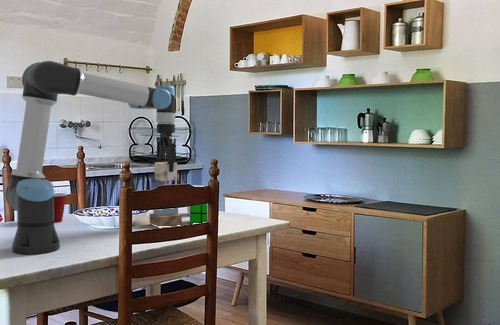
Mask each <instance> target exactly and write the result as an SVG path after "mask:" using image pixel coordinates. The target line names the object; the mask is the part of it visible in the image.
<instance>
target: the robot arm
mask: <svg viewBox="0 0 500 325" xmlns="http://www.w3.org/2000/svg"><path fill="white" fill-rule="evenodd" d="M21 83H22V86H23V88H22V89H23V90H22V99H23V100H24V102H25V108H24V116H23V121H22V122H23V123H22V128H21V129H22V130H21V133H20V134H21V136H20V142H19V148H18V156H17V163H16V168H15V170H14V171H11V173H10V179H9V183H8V184H7V186H6V188H5V192H4V197H5V200H6V203H7V204H8V206H9V207H10V208H11V209H12V210H14V211H16V212H17V214H16V215H17V217H16V218H17V219H16V220H17V228H16V231H15V235H14V238H13V241H12V247H11V248H12V252H13V253H15V254H20V255H22V254H23V255H38V254H40V255H41V254H47V253H51V252H55V251H58V250H59V249H60V247H61V241H60V238H59V235H58V233H57V230H56V227H55V223H54V194H55V189H54V183H52V181H51V180H47V179H46V176H45V175H44V173H43V168H44V167H43V166H44V159H45V152H46V146H47V141H48V140H47V139H48V131H49V127H50V119H51V113H52V107H54V105H56V104H57V103H58V102H57V101H58V95H69V96H77V95H78V94H79V95H84V96H89V97H95V98H99V99H105V100H110V101H116V102H120V103H125V104H128V107H129V108H130V109H136V110H139V109H140V110H142V109H143V110H144V109H145V110H150V109H151V110H153V109H155V110H156V123H157V124H156V133H157V134H159V136H156V154H155V160H156V161H158V162H167V163H166V164H167V180H170V181H175V180H174V163H177V145H176V142H177V139H176V138H175V137H174V138H173V134H174V133H176V124H175V122H176V92H175V87H174V85H156V87H152V86H151V87H150V86H147V85H142V84H137V83H132V82H128V81H123V80H119V79H114V78H110V77H105V76H101V75H100V76H99V75H96V74H92V73H87V72H84V71H82V70H81V69H80V68H77V67H74V66H71V65H66V64H62V63H59V62H57V61H54V60H53V61H52V60H43V61H40V62H39V61H38V62H34V63H31V64H30V65H29V66H28V67H26V68H25V69H24V71H23V73H22V76H21ZM165 158H166V159H165ZM166 160H167V161H166Z"/></svg>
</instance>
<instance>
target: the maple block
mask: <svg viewBox="0 0 500 325" xmlns="http://www.w3.org/2000/svg"><path fill="white" fill-rule="evenodd" d="M167 162H168V161H166V162H157V161H156V162H154V180H156V181H159V182H168V181H171V180H167V164H166V163H167ZM173 181H178V162H176V163H174V180H173Z"/></svg>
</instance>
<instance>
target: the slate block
mask: <svg viewBox="0 0 500 325" xmlns="http://www.w3.org/2000/svg"><path fill="white" fill-rule="evenodd" d="M152 213H153V214H154V215H157V216H165V215H177V214H179V207H178V208H174V209H162V210H153V212H152Z"/></svg>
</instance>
